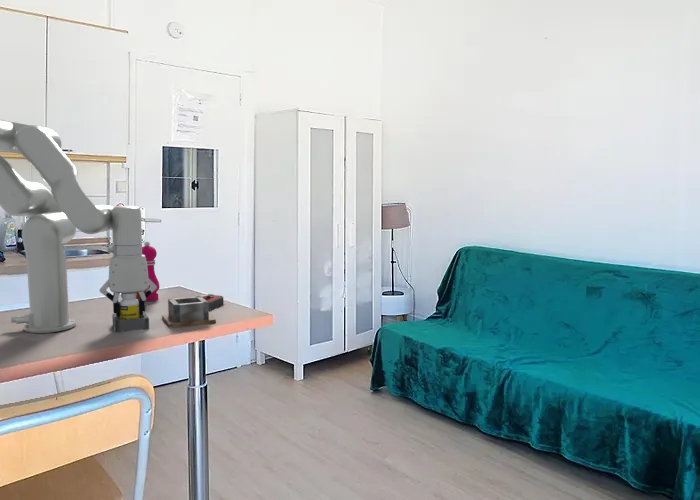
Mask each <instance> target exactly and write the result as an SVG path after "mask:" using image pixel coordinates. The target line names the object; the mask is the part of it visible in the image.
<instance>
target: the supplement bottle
mask: <svg viewBox="0 0 700 500" xmlns="http://www.w3.org/2000/svg"><path fill="white" fill-rule="evenodd" d="M120 296H121V299H120V300H119V305H120V316H119V320H124V319H134V318H140V307H139V300H138V299H136V297H137V293H136V292H127V293H120Z"/></svg>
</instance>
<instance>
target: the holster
mask: <svg viewBox="0 0 700 500" xmlns="http://www.w3.org/2000/svg"><path fill="white" fill-rule="evenodd" d="M111 317H112V326H113V328H114V330H115V332H116V333H118V332H128V331H135V330H136V331H138V330H147V329H150V318H149V316H148V315H147V313H146V312H145V311H143V315H140V318H134V319H124V320H119V317H117V316H116V314H114V313H112V316H111Z"/></svg>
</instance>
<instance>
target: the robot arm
mask: <svg viewBox="0 0 700 500" xmlns="http://www.w3.org/2000/svg"><path fill="white" fill-rule="evenodd" d="M1 151H2V152H8V153H11V154H12V153H14V154H18V155H22V157H23V158H25V160H26V161H27V162H28V163H29V165H30V166H31V167H32V168H33V169H34V170H35V171H36V172H37V174H38V175H39V176H40V177H41V179H43V181H44V182H45V183H46V185H47V186H48V187H49V189H48V188H47V187H46V186H44V185H43V184H42V183H40V182H36V181H35V180H34V181H33V180H25V179H24V178H23V177H22V176H21V175H20V174H19V173H18V172H17V171H16V169H14V168H13V166H12V164H11V163H9V162H8V161H7V160H6V159H5V157H3V156H2V155H0V207H1V208H2V210H3V211H4V212H5V213H7V214H8V215H10V216H13V217H25V216H26V217H27V218H28V219H27V220H26V221H25V222H24V224H23V226H22V230H21V239H22V245H23V247H24V253H25V258H26V267H27V268H26V273H27V282H28V283H27V285H28V287H27V288H28V289H27V290H28V302H29V311H28V313H25V314H24V315H11V318H10V319H11V321H10V322H11V324H15V325H20V324H22V325H23V324H25V325H24V327H23V329H24V331H25V332H28V333H33V334H34V333H35V334H43V333H44V334H46V333H47V334H49V333H56V332H62V331H65V330H66V331H67V330H69V329H73V328H74V327H75V326H76V320H75V319H72V318H70V309H69V307H70V306H69V292H68V291H69V289H68V288H69V287H68V271H67V260H66V254H65V250H64V247H63V245H65V244H67V243H69V242H70V241H71V240H73V239H74V237H75V235H76V232H77V230H79V231H80V232H82V233H84V234H86V235H94V234H100V233H103V232H107V231H109V232H110V231H111V232H112V233H111V235H112V245H111V246H109V247H107V248H106V251H107V253H111V254H112V255H111V256H110V258H109V266H108V279H107V280H106V281H105V282H104V283H103V284H102V286H101V287H100V288H99V292H100V293H101V294H102V295H103V296H105V297H106V298H107V299H109V300H110V301H111V302H112V308H113V309H112V310H113V314H116V316H117V317H119V316H120V305H119V302H120V300H119V297H120V296H121V293H127V292H138V293H139V295H140V298H139V307H140V315H143V311H144V312H145V311H146V301H145V300H146V298H147V297H148V296H149V295H150V294H151V293H152V292H153V291H154V290H155V289H157V286H156V285H155V284H154V283H153V282H152V281H151V280H150V279H149V278H148V268H147V261H146V257H145V255H142V247H143V238H142V237H143V235H142V211H141V208H140V207H138V206H136V205H119V206H118V205H116V206H114V205H108V204H94V203H93V202H92V200H91V199H90V198H89V197H88V196H87V194H86V193H85V192H84V190H83V189H82V188H81V186H80V183H79V179H78V169H77V167H76V165H75V164H74V163H73V162H72V161H71V159H70V158H69V157H68V156H67V154H65V152H64V151H63V150H62V141H61V138H60V136H59V134H58V133H57V132H55V131H54V129H50V128H49V127H45V126H41V125H34V124H32V125H31V124H24V123H20V122H15V121H10V120H5V119H0V152H1ZM149 285H150V288H149V289H148V287H149ZM108 288H109V290H110V292H109V291H108V290H107V289H108ZM147 289H148V290H147ZM145 290H146V291H145ZM144 291H145V292H144Z"/></svg>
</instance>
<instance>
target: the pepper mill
mask: <svg viewBox="0 0 700 500" xmlns="http://www.w3.org/2000/svg"><path fill="white" fill-rule="evenodd" d="M150 245H151V244H150V242H149V241H145V242H144V246H142V255H145V257H146V261H147V268H148V278H149V279H150V280H151V281H152V282H153V283H154V284H155V285H156V286H157V289H155V290H154V291H153V292H152V293H151V294H150V295H149V296H148V297H147V298H146V300H145V302H154V301H157V300H159V293H158V291H159V290H160V282H159V280H158V277H157V276H156V272H155V265H156V260H155V258H156V257H157V255H158V254H157V250H156V248H155V247H154V246H150ZM149 288H150V285H149V287H148V289H149ZM148 289H147V290H148ZM145 291H146V290H145ZM145 291H144V292H145Z"/></svg>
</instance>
